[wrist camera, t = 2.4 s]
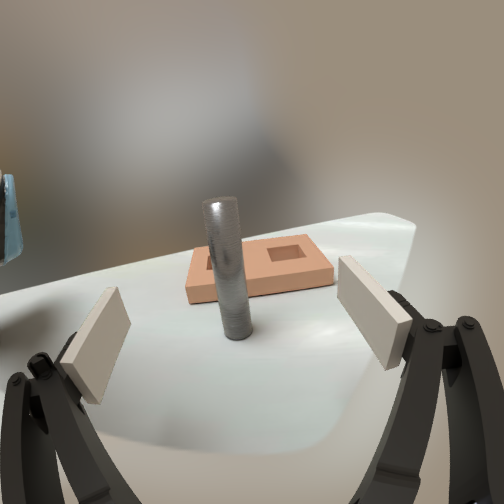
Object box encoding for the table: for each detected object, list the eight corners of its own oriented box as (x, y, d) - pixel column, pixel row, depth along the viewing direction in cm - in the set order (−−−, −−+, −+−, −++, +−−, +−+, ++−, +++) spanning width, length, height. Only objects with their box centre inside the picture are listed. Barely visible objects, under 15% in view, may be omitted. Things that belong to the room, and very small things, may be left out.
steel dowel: (224, 340, 27) (200, 206, 22) (224, 323, 30) (203, 199, 25) (253, 337, 27) (237, 201, 22) (250, 320, 30) (235, 194, 25)
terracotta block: (189, 303, 34) (185, 286, 33) (196, 261, 46) (194, 247, 45) (333, 284, 35) (333, 267, 34) (306, 247, 47) (306, 234, 46)
